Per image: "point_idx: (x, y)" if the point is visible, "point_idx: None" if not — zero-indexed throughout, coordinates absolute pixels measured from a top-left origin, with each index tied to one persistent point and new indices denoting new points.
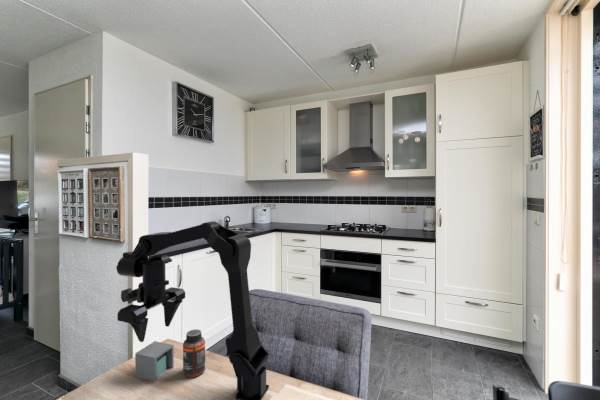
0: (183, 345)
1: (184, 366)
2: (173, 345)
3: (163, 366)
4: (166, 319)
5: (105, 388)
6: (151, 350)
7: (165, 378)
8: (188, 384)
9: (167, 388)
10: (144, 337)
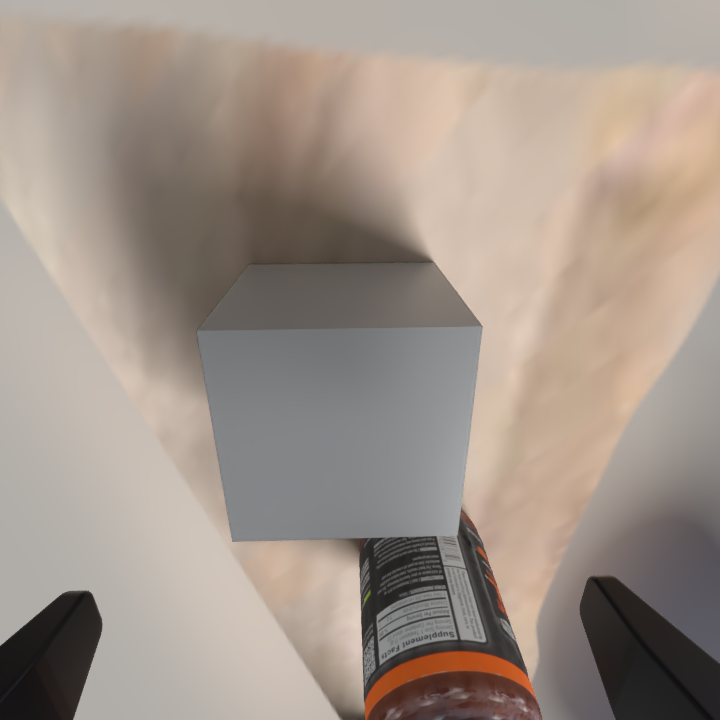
0: (384, 714)
1: (366, 574)
2: (455, 533)
3: None
4: (656, 713)
5: (51, 165)
6: (312, 434)
7: None
8: (321, 568)
9: None
10: (66, 717)
